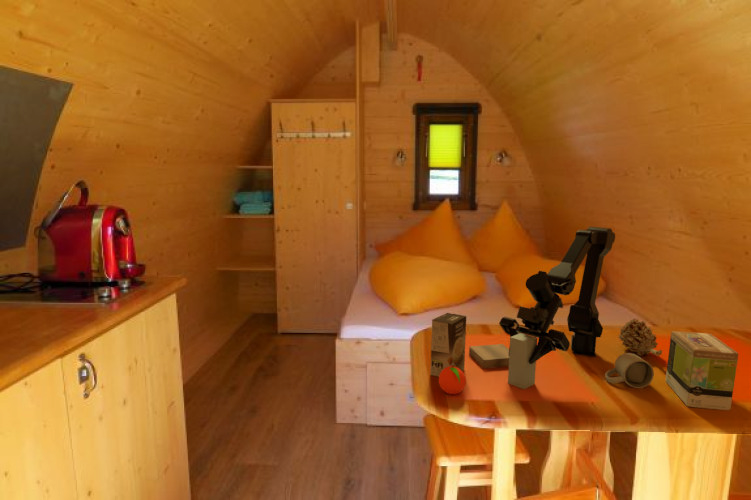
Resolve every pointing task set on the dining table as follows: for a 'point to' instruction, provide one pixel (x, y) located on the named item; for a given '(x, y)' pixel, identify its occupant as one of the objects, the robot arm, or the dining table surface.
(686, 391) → the tea box
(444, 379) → the red tomato
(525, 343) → the wooden block
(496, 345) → the walnut slab
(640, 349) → the pine cone
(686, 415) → the dining table surface
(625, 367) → the ceramic mug
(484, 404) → the dining table surface
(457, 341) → the coffee box
